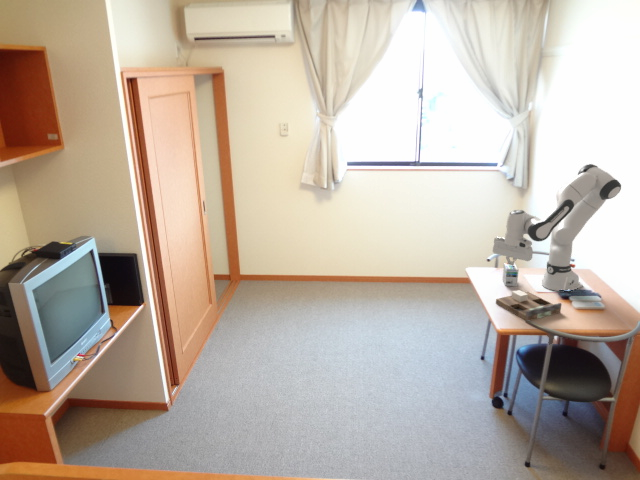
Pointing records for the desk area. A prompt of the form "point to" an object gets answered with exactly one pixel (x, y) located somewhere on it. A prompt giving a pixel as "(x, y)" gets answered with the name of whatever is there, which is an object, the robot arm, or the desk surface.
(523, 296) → the block
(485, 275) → the desk surface
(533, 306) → the board
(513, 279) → the light bulb box
